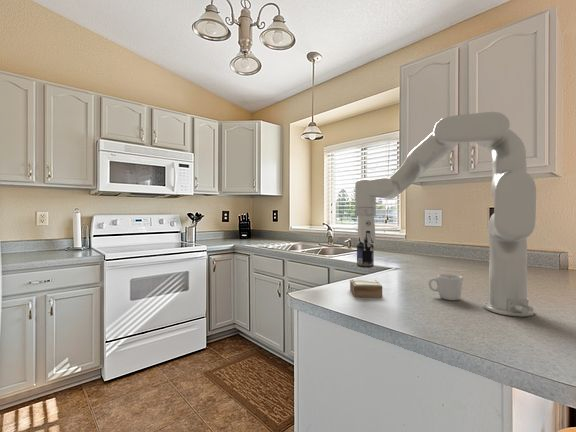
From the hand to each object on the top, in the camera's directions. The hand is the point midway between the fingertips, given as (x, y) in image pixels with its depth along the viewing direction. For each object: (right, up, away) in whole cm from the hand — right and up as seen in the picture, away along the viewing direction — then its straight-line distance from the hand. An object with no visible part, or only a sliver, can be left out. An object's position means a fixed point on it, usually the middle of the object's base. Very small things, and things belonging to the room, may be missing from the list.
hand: (365, 259), depth 115 cm
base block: (0, -13, 0) cm, 13 cm away
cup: (+27, -13, -6) cm, 30 cm away
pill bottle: (0, -3, 0) cm, 3 cm away
